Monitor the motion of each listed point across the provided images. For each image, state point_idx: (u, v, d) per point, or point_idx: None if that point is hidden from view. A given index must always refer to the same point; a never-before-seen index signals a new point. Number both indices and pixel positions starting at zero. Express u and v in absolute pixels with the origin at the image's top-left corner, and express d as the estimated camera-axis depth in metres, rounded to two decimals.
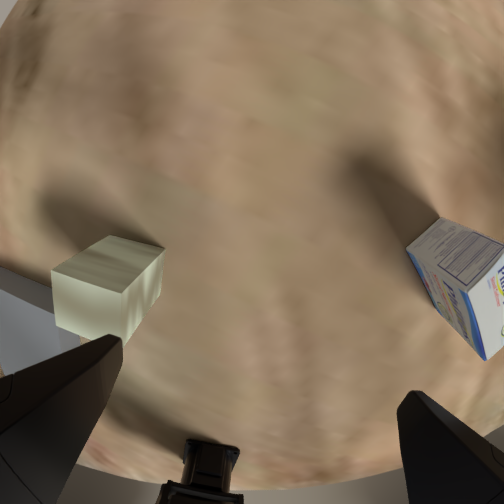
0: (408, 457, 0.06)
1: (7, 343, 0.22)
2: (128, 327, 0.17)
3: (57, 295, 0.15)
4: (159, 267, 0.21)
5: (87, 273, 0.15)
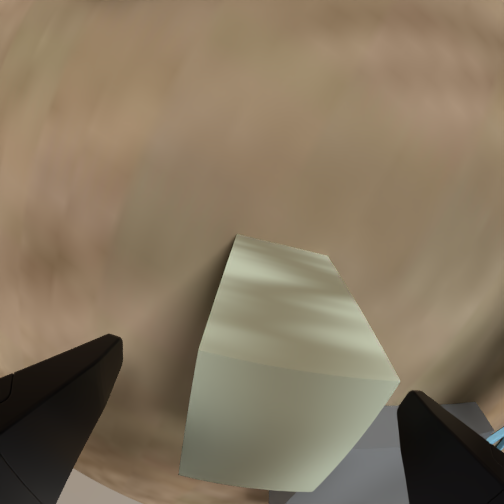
0: (408, 457, 0.06)
1: None
2: (345, 342, 0.06)
3: (234, 479, 0.06)
4: (263, 247, 0.11)
5: None
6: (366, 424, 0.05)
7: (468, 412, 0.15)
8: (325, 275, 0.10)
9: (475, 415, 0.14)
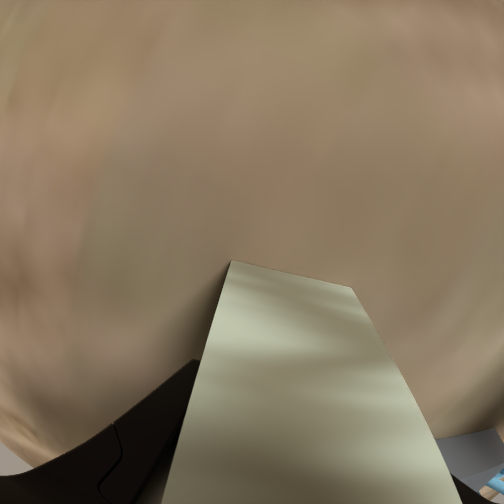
0: None
1: None
2: (397, 466, 0.03)
3: None
4: (268, 282, 0.08)
5: None
6: None
7: (487, 441, 0.11)
8: (354, 325, 0.07)
9: (494, 443, 0.11)
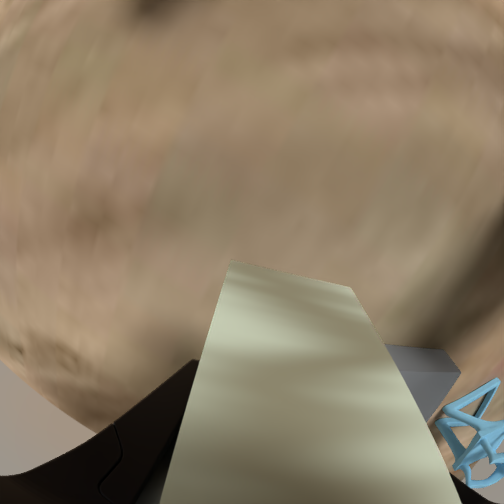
0: None
1: None
2: (396, 466, 0.03)
3: None
4: (267, 281, 0.08)
5: None
6: None
7: (435, 355, 0.21)
8: (353, 325, 0.07)
9: (442, 358, 0.20)
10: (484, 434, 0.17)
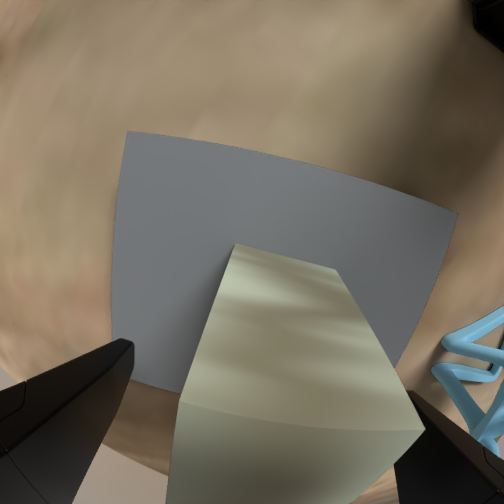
0: (399, 458, 0.06)
1: None
2: (361, 382, 0.05)
3: None
4: (265, 260, 0.10)
5: None
6: (380, 472, 0.04)
7: None
8: (334, 293, 0.09)
9: None
10: None
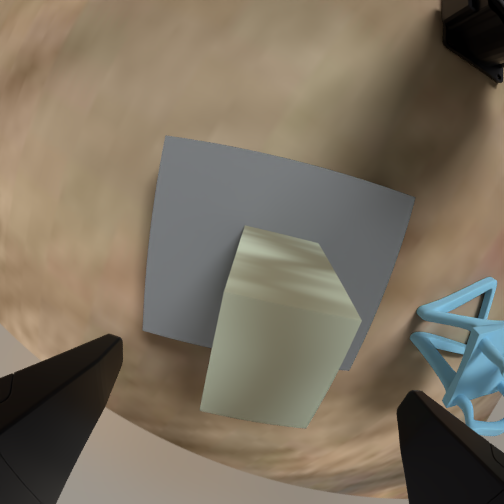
0: (408, 457, 0.06)
1: None
2: (323, 295, 0.09)
3: (244, 412, 0.09)
4: (266, 235, 0.14)
5: None
6: (341, 357, 0.08)
7: None
8: (314, 256, 0.13)
9: None
10: (484, 331, 0.13)
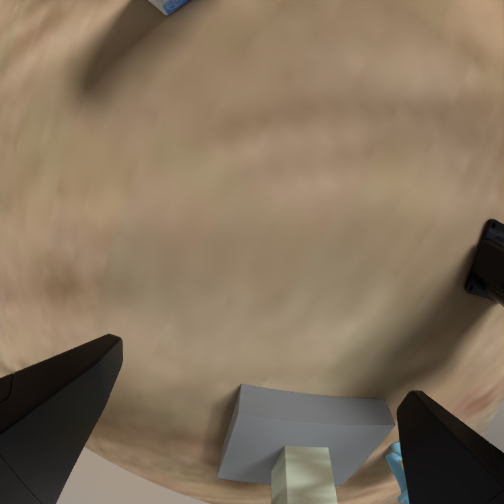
0: (408, 457, 0.06)
1: None
2: None
3: None
4: (298, 455, 0.20)
5: None
6: None
7: (372, 406, 0.23)
8: (324, 470, 0.19)
9: (379, 409, 0.22)
10: None
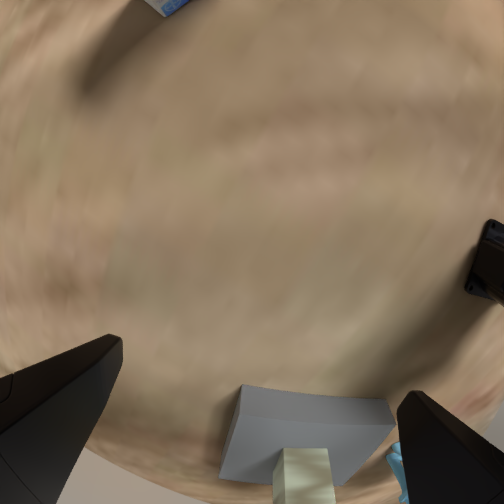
0: (408, 457, 0.06)
1: None
2: None
3: None
4: (297, 457, 0.20)
5: None
6: None
7: (373, 406, 0.23)
8: (323, 471, 0.19)
9: (380, 409, 0.22)
10: None
